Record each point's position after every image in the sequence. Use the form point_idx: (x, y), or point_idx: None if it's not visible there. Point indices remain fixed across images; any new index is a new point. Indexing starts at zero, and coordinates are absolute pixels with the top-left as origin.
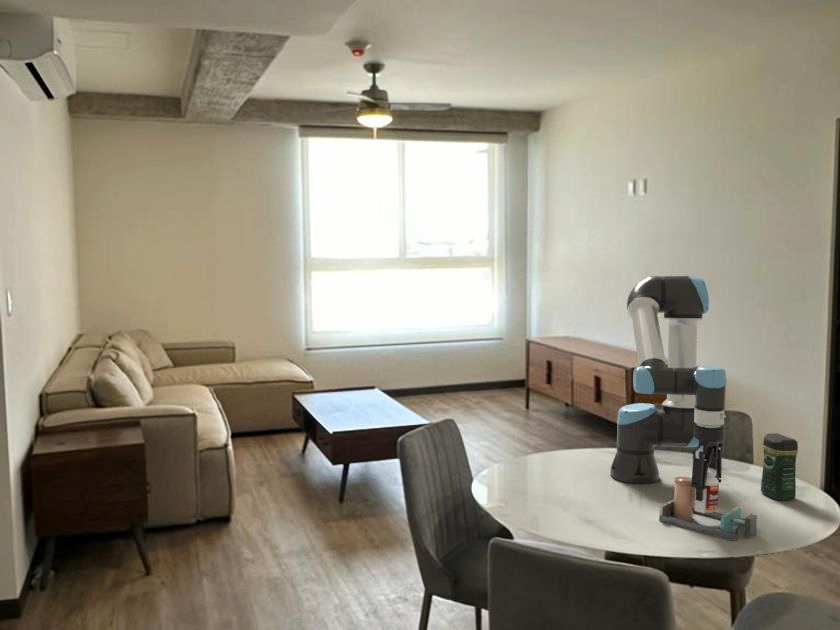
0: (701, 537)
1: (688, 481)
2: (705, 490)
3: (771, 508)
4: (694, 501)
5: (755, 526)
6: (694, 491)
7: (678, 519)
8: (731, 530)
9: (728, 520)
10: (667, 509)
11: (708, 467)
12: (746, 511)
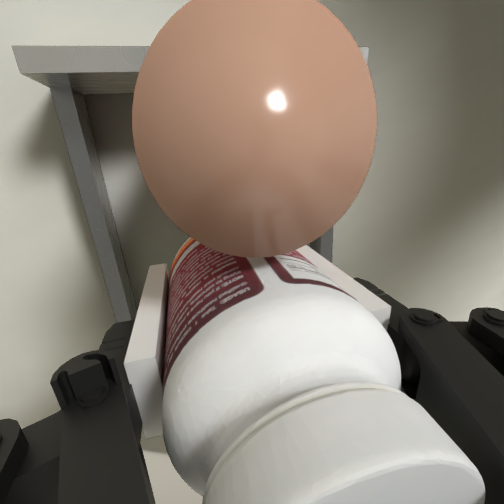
0: (66, 327)
1: (230, 219)
2: (149, 429)
3: (494, 299)
4: (181, 259)
5: None
6: (190, 281)
7: (88, 192)
8: None
9: None
10: (121, 81)
11: (499, 478)
12: (434, 271)
